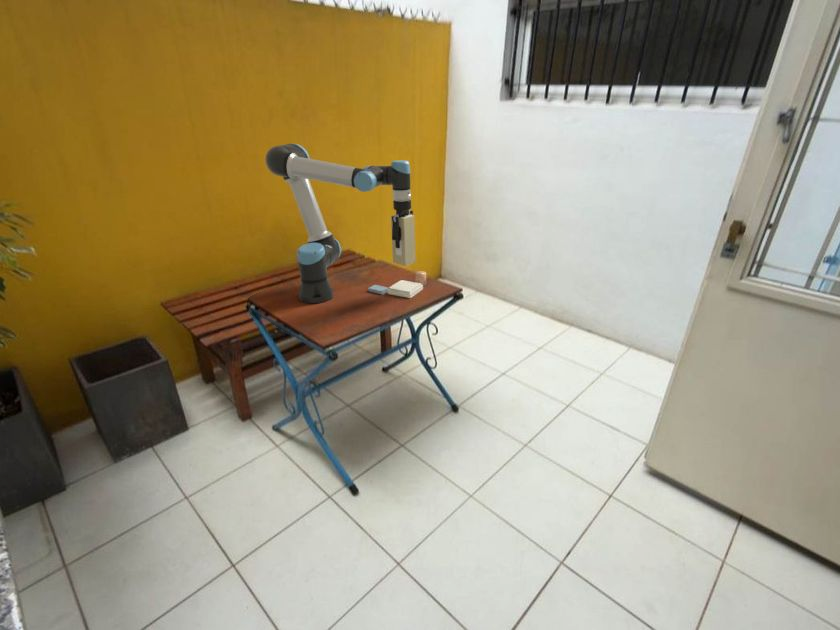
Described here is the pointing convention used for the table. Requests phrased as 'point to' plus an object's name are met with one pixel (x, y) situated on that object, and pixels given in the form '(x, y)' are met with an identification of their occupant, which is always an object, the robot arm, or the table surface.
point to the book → (378, 289)
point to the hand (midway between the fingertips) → (404, 252)
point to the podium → (405, 289)
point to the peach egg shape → (421, 277)
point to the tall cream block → (405, 241)
